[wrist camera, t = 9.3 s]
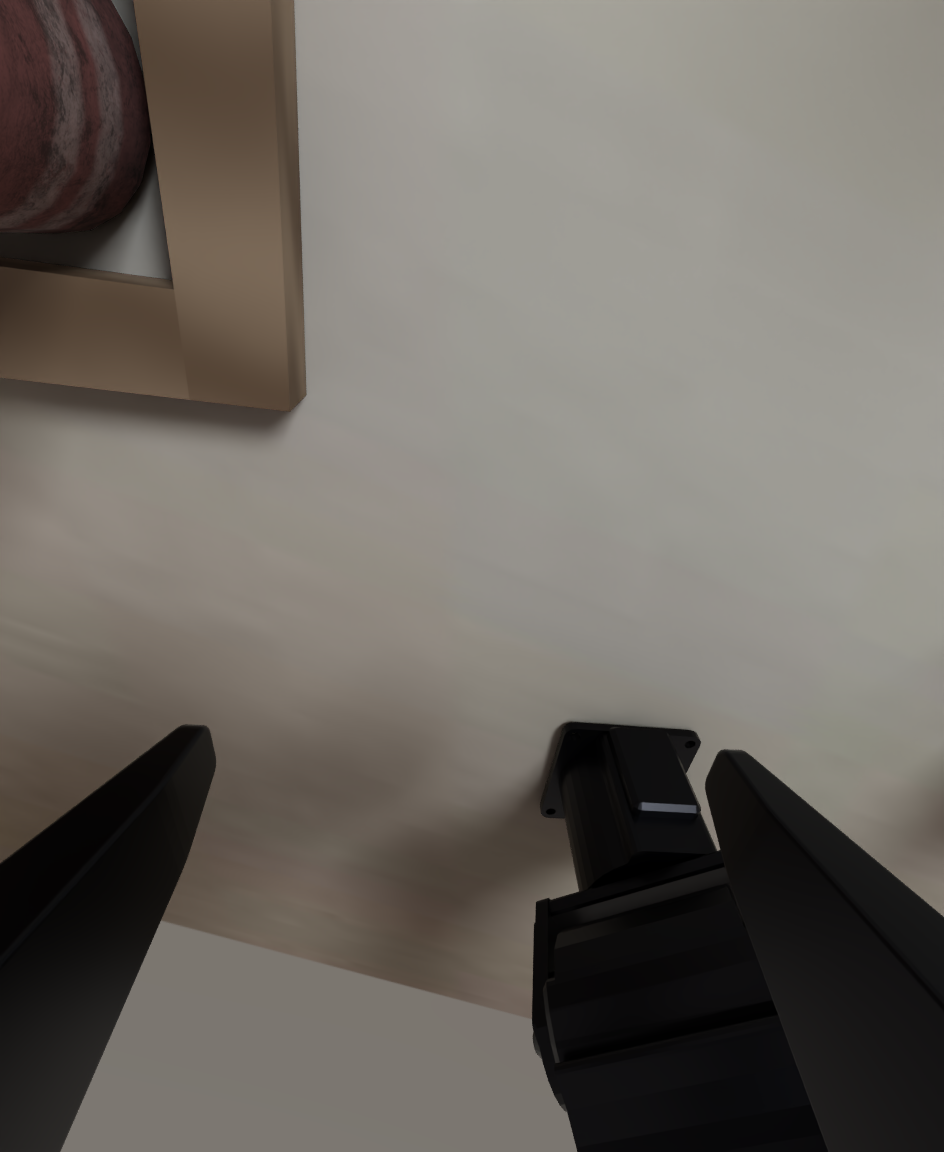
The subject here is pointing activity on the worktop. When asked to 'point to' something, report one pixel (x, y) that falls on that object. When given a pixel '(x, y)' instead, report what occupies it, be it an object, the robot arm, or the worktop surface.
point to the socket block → (191, 230)
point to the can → (68, 115)
